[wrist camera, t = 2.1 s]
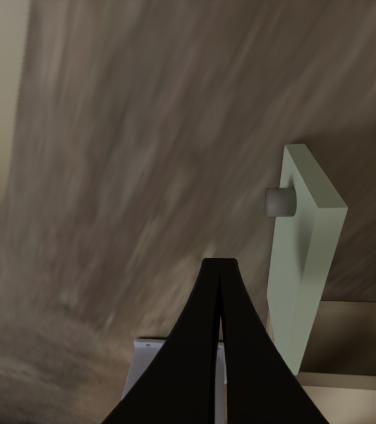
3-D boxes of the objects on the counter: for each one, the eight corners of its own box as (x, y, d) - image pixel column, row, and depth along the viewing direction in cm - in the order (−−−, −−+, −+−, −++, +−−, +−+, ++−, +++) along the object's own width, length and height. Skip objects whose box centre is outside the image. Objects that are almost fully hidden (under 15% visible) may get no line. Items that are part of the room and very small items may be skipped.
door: (279, 294, 21) (297, 375, 16) (251, 293, 22) (260, 373, 17) (304, 143, 14) (348, 207, 9) (261, 145, 14) (282, 208, 10)
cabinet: (261, 365, 29) (270, 441, 23) (270, 299, 22) (285, 384, 17) (395, 372, 27) (437, 457, 22) (445, 304, 21) (522, 399, 15)
